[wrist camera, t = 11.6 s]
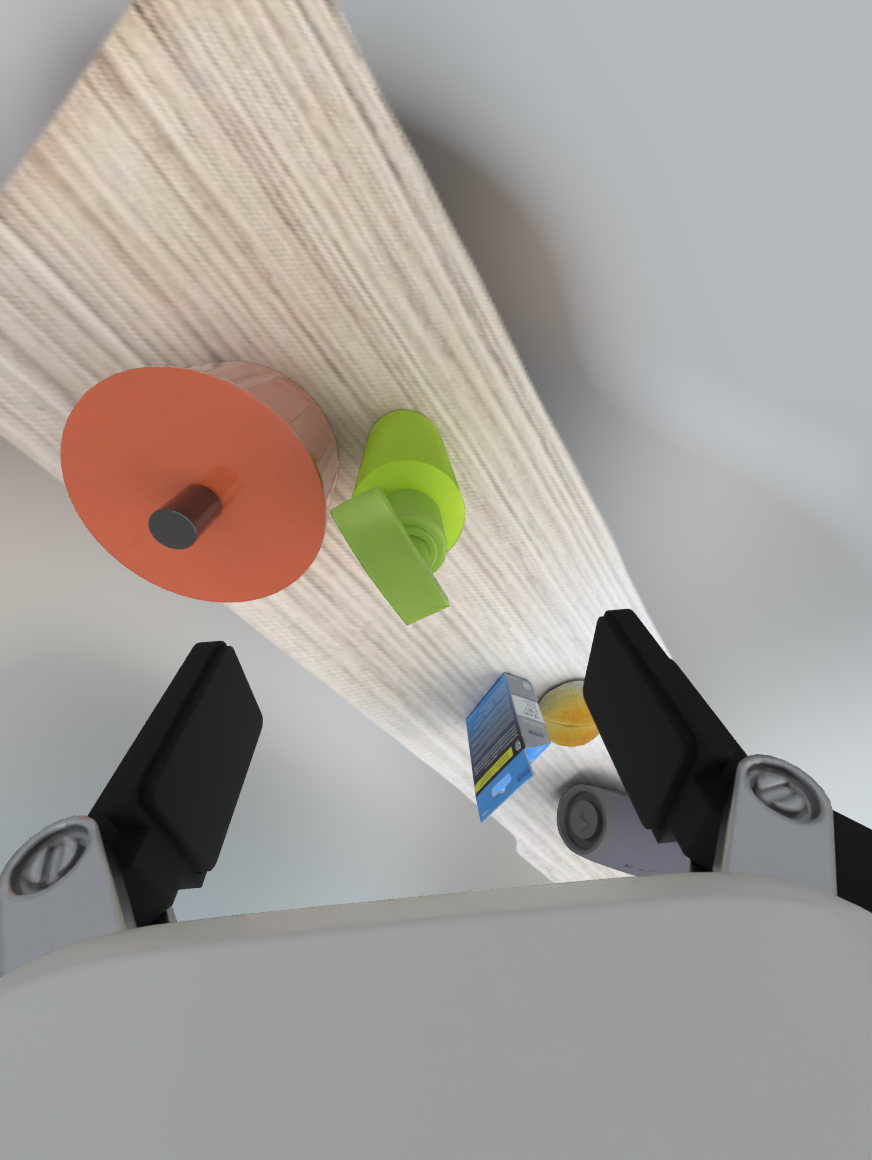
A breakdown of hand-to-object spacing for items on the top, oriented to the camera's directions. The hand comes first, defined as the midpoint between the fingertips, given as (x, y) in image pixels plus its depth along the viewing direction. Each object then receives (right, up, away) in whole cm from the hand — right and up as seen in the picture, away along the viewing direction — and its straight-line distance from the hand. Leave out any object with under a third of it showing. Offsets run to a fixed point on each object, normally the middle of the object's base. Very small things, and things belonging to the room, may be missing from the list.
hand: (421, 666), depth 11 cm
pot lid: (-13, +7, +13) cm, 19 cm away
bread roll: (+17, -13, +39) cm, 44 cm away
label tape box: (+7, -12, +38) cm, 40 cm away
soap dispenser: (-2, +13, +21) cm, 25 cm away
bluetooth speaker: (+28, -31, +51) cm, 66 cm away
